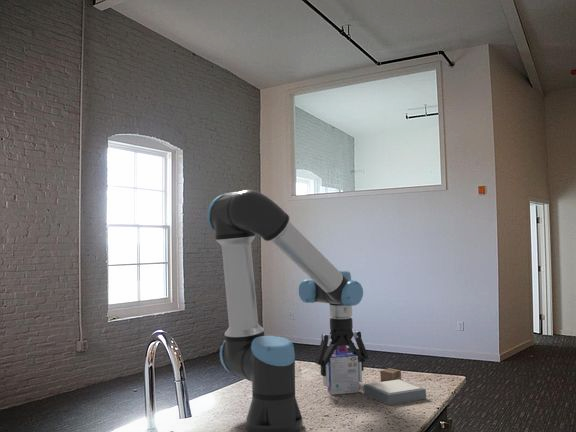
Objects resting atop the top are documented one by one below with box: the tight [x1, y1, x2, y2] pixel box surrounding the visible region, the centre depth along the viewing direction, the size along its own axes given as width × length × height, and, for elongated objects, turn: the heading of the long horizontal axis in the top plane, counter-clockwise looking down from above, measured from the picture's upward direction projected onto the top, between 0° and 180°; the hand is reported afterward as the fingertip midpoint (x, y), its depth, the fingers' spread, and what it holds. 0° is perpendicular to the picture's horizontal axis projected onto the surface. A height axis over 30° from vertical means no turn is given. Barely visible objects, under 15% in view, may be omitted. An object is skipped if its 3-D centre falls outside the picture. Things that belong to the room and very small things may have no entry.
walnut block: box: [380, 367, 402, 382], centre depth 183 cm, size 5×5×5 cm
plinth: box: [363, 379, 427, 406], centre depth 169 cm, size 14×14×3 cm
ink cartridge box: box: [326, 347, 360, 396], centre depth 175 cm, size 10×6×14 cm, turn 103°
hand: (342, 383), depth 175 cm, fingers open, 12 cm apart
